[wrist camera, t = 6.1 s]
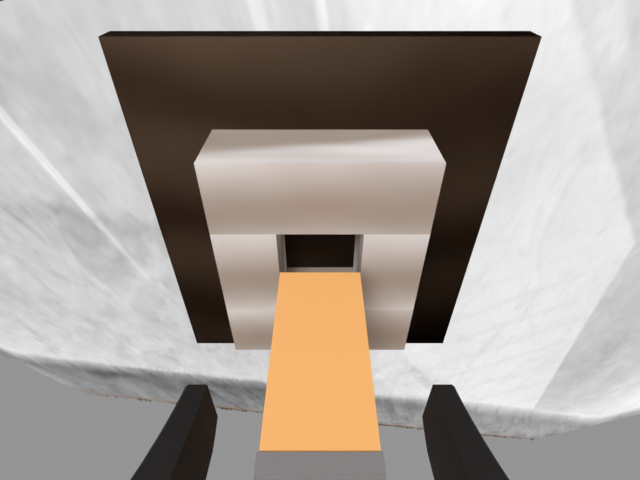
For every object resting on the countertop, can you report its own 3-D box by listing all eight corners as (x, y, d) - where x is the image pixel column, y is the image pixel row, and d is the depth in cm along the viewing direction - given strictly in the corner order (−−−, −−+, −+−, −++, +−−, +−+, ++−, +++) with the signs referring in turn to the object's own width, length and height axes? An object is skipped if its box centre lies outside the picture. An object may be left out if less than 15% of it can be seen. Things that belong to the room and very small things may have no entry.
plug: (278, 271, 14) (253, 479, 9) (361, 271, 14) (386, 478, 9) (284, 339, 17) (268, 533, 12) (355, 339, 17) (371, 533, 12)
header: (109, 31, 15) (53, 58, 12) (530, 30, 15) (586, 57, 12) (200, 330, 26) (184, 385, 23) (439, 330, 26) (455, 385, 23)
